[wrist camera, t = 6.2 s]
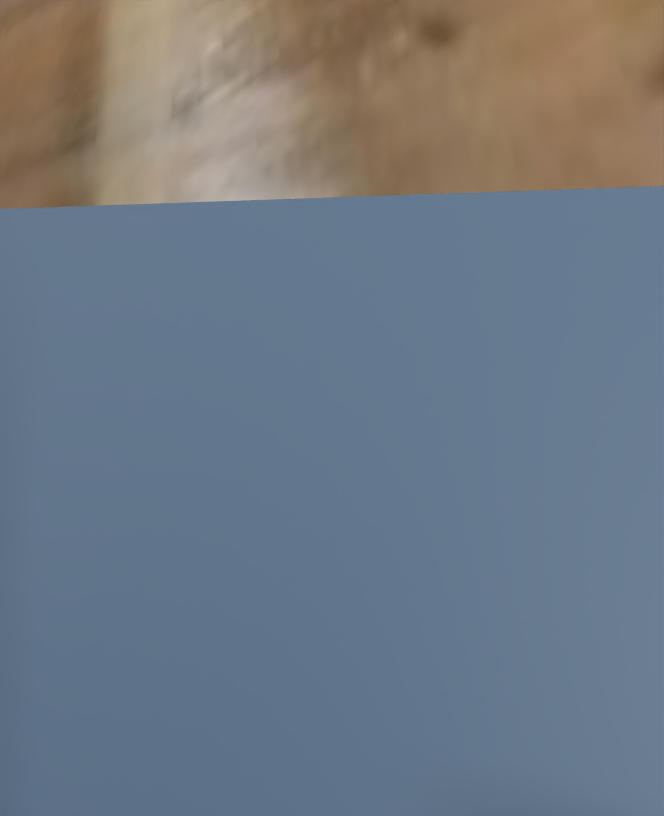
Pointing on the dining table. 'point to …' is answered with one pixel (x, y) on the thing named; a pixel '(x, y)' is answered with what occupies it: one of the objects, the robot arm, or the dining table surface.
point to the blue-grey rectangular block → (334, 506)
